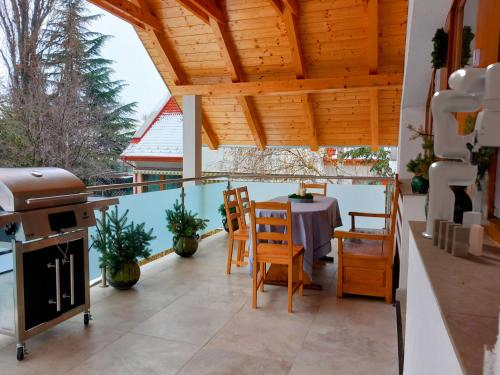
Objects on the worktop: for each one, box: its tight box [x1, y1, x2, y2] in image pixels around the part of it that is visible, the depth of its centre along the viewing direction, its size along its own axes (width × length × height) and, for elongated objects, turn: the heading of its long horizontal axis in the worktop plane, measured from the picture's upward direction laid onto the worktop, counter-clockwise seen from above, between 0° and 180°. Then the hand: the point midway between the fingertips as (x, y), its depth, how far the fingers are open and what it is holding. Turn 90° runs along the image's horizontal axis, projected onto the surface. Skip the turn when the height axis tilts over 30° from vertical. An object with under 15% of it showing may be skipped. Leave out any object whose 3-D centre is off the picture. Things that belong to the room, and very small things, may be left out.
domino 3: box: [443, 223, 463, 253], centre depth 134 cm, size 2×5×10 cm, turn 89°
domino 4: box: [451, 226, 470, 258], centre depth 129 cm, size 2×5×10 cm, turn 89°
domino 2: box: [437, 220, 456, 250], centre depth 139 cm, size 2×5×10 cm, turn 89°
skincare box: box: [461, 211, 482, 245], centre depth 150 cm, size 6×4×12 cm
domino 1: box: [431, 219, 448, 246], centre depth 144 cm, size 2×5×10 cm, turn 89°
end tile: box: [468, 225, 485, 257], centre depth 132 cm, size 2×5×10 cm, turn 179°
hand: (491, 166), depth 112 cm, fingers open, 9 cm apart
